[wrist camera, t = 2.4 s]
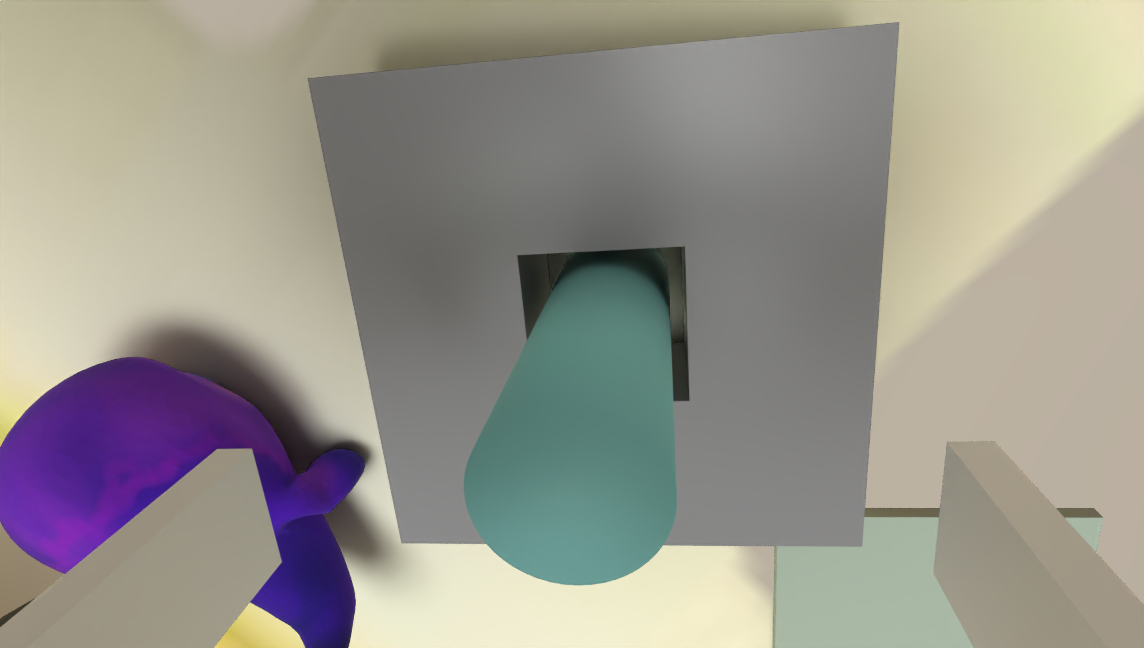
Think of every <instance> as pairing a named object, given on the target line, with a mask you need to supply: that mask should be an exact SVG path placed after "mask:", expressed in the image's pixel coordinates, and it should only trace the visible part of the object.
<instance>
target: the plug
mask: <svg viewBox="0 0 1144 648" xmlns="http://www.w3.org/2000/svg"><path fill="white" fill-rule="evenodd" d="M464 496H465V502H466V506H467V510H468V513H469V515H470V518H471V521H472V523H473V524H474V526H475V528H476V530H477V532H478V533H479V535H480V536H481V537H482V539H483V540H484V542H485V543H486V544H487V545H488V546H489V547H490V548H491V549H492V550H493V551H494V552H495V553H496V554H497V555H498V556H499V557H501V558H502V559H503V560H504V561H506V562H507V563H509V564H510V565H512V566H513V567H515V568H517V569H518V570H520V571H522V572H524V573H526V574H529V575H531V576H533V577H536V578H539V579H542V580H546V581H549V582H554V583H559V584H566V585H592V584H599V583H605V582H608V581H612V580H616V579H618V578H621V577H623V576H626V575H628V574H630V573H632V572H633V571H635V570H637V569H639V568H640V567H642V566H643V565H644V564H646V563H647V562H648V561H649V560H650V559H651V558H652V557H653V556H654V555H655V554H656V553H657V552H658V551H659V550H660V548H661V547H662V546H663V545H664V543H665V541H666V539H667V538H668V536H669V534H670V532H671V529H672V526H673V524H674V520H675V515H676V509H677V486H676V459H675V432H674V405H673V378H672V351H671V324H670V296H669V277H668V271H667V267H666V265H665V262H664V260H663V258H662V256H661V255H660V253H659V252H658V251H657V249H656V248H645V249H626V250H607V251H589V252H572V253H571V255H570V256H569V258H568V260H567V262H566V264H565V266H564V268H563V270H562V272H561V274H560V276H559V278H558V280H557V282H556V284H555V286H554V288H553V290H552V292H551V294H550V296H549V298H548V300H547V302H546V304H545V306H544V308H543V310H542V312H541V314H540V316H539V318H538V320H537V322H536V324H535V326H534V328H533V330H532V332H531V334H530V336H529V338H528V340H527V342H526V344H525V346H524V348H523V350H522V352H521V354H520V356H519V358H518V360H517V362H516V364H515V366H514V368H513V370H512V372H511V374H510V376H509V378H508V380H507V382H506V384H505V386H504V388H503V390H502V392H501V394H500V396H499V398H498V400H497V402H496V404H495V406H494V408H493V410H492V412H491V414H490V416H489V418H488V420H487V422H486V424H485V426H484V428H483V430H482V432H481V434H480V436H479V438H478V440H477V442H476V444H475V446H474V448H473V450H472V452H471V454H470V457H469V459H468V462H467V465H466V470H465V474H464Z"/></svg>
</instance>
